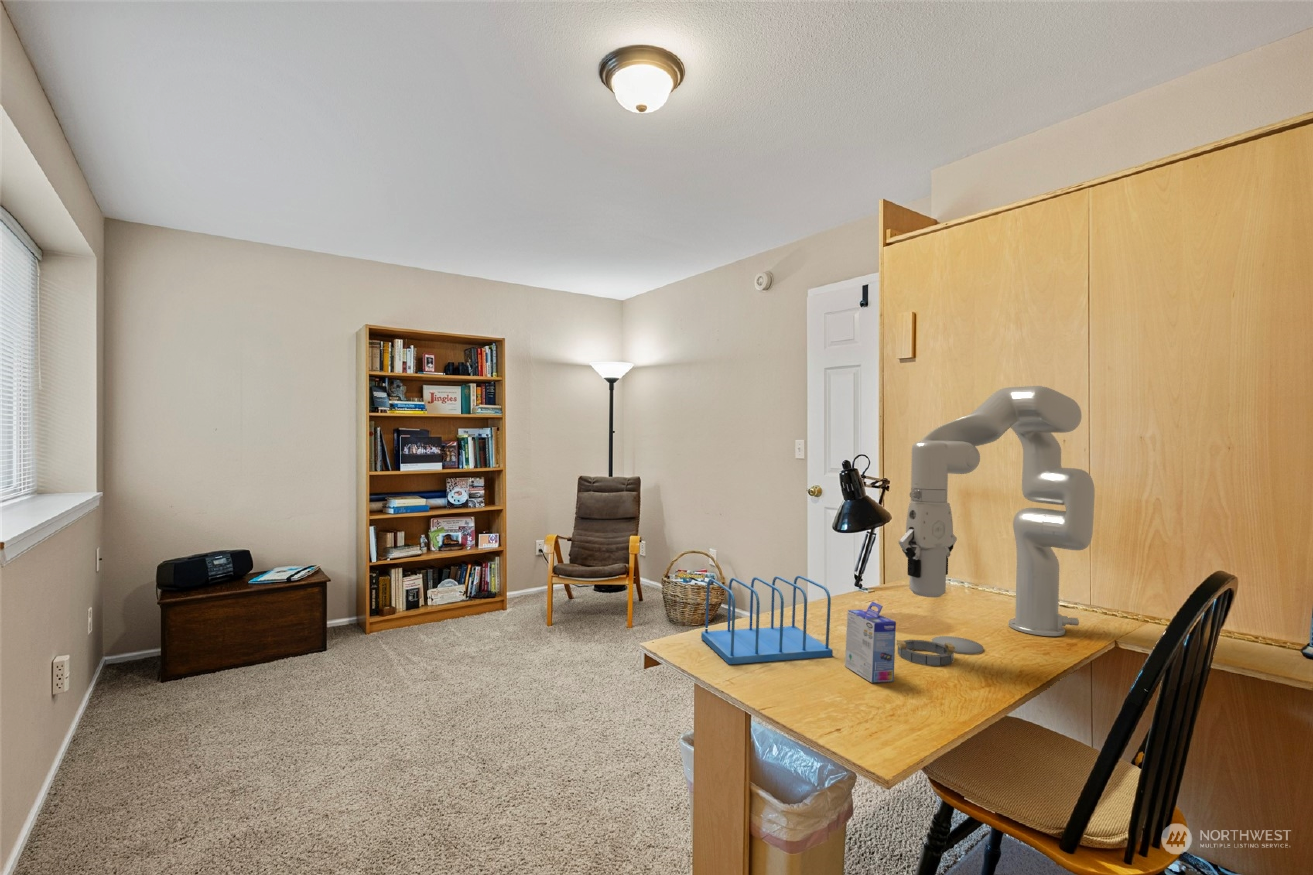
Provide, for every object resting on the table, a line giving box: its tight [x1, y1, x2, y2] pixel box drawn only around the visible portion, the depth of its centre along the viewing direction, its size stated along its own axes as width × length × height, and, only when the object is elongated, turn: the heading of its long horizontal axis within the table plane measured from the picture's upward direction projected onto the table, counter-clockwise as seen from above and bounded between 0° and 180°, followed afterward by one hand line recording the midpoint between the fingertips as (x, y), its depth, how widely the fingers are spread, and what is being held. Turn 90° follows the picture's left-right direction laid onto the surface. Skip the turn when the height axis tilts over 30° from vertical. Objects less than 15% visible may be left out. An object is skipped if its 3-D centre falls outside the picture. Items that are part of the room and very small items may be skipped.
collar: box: [896, 639, 955, 667], centre depth 139 cm, size 12×11×3 cm
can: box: [908, 544, 947, 598], centre depth 140 cm, size 8×8×12 cm
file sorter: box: [700, 575, 834, 665], centre depth 143 cm, size 25×17×15 cm
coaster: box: [931, 635, 984, 655], centre depth 147 cm, size 11×11×1 cm
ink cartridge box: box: [844, 601, 897, 684], centre depth 128 cm, size 10×6×14 cm, turn 16°
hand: (927, 574), depth 140 cm, fingers closed on can, 7 cm apart
